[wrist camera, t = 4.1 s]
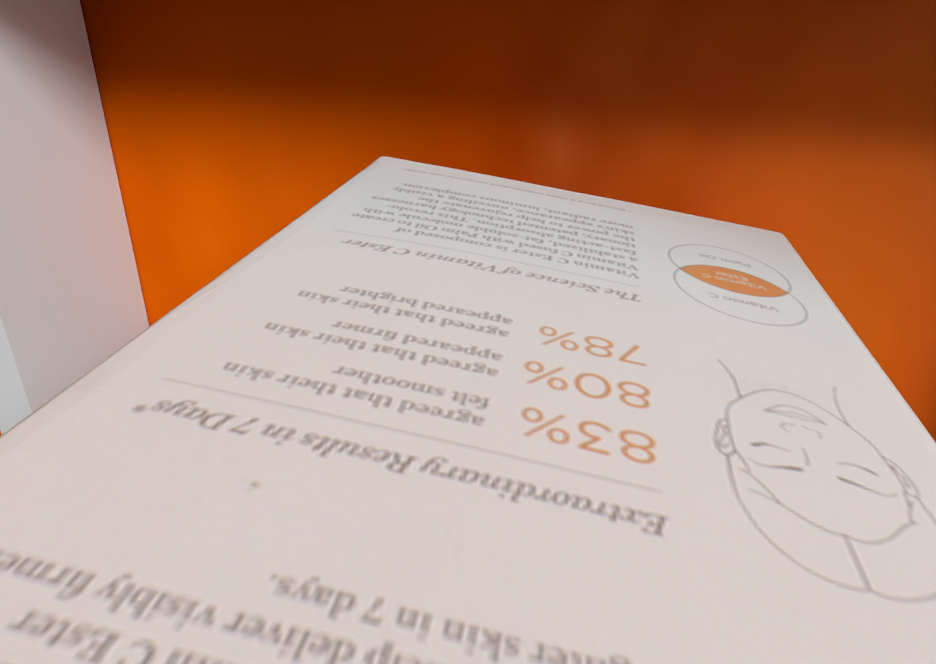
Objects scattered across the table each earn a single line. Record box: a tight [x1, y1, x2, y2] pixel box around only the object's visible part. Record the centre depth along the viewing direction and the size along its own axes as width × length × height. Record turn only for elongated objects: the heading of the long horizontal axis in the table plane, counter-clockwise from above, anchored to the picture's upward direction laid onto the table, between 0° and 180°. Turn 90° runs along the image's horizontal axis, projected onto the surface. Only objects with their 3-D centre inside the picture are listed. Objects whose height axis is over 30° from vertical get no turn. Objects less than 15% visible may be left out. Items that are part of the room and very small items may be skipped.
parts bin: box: [0, 0, 149, 434], centre depth 13 cm, size 24×16×4 cm, turn 87°
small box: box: [0, 156, 936, 664], centre depth 8 cm, size 8×6×13 cm
